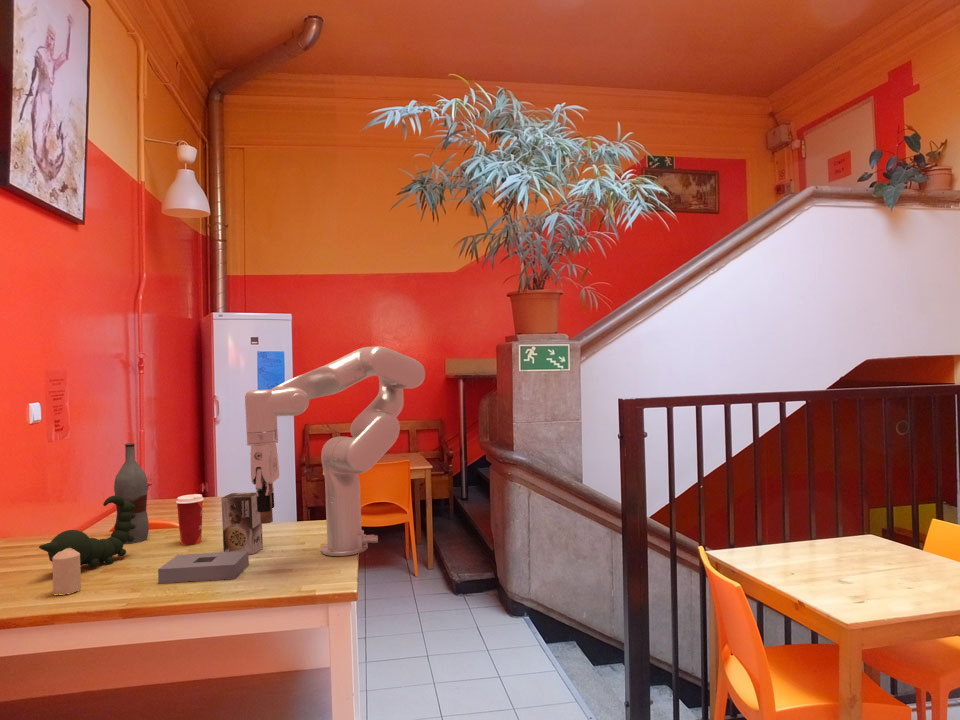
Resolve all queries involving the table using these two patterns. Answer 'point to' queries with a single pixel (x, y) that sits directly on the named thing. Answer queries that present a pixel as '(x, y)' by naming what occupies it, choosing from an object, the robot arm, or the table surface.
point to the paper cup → (190, 518)
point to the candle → (66, 572)
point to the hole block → (203, 567)
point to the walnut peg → (267, 516)
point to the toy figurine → (92, 547)
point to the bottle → (133, 493)
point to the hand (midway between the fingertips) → (266, 509)
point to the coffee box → (241, 523)
